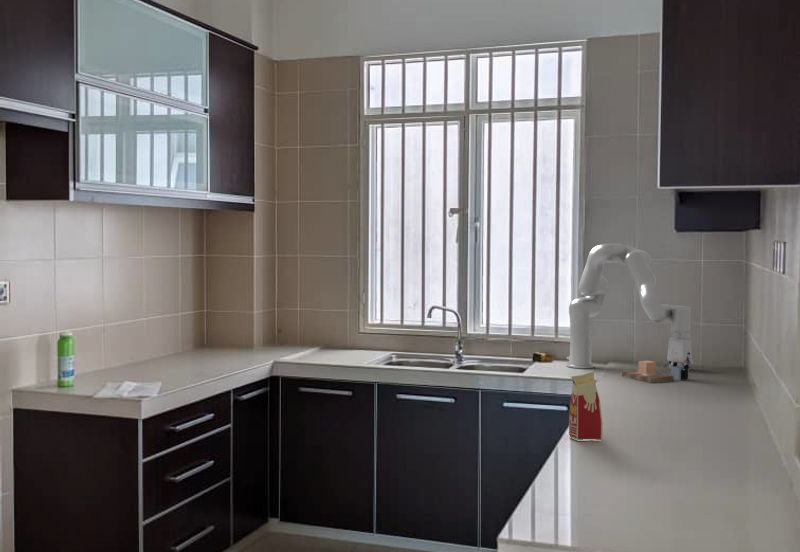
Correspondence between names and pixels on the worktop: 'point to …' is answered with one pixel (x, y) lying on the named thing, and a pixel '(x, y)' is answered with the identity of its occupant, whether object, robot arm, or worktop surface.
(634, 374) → the board
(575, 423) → the milk carton
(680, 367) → the slate block
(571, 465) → the worktop surface
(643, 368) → the terracotta block
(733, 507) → the worktop surface
